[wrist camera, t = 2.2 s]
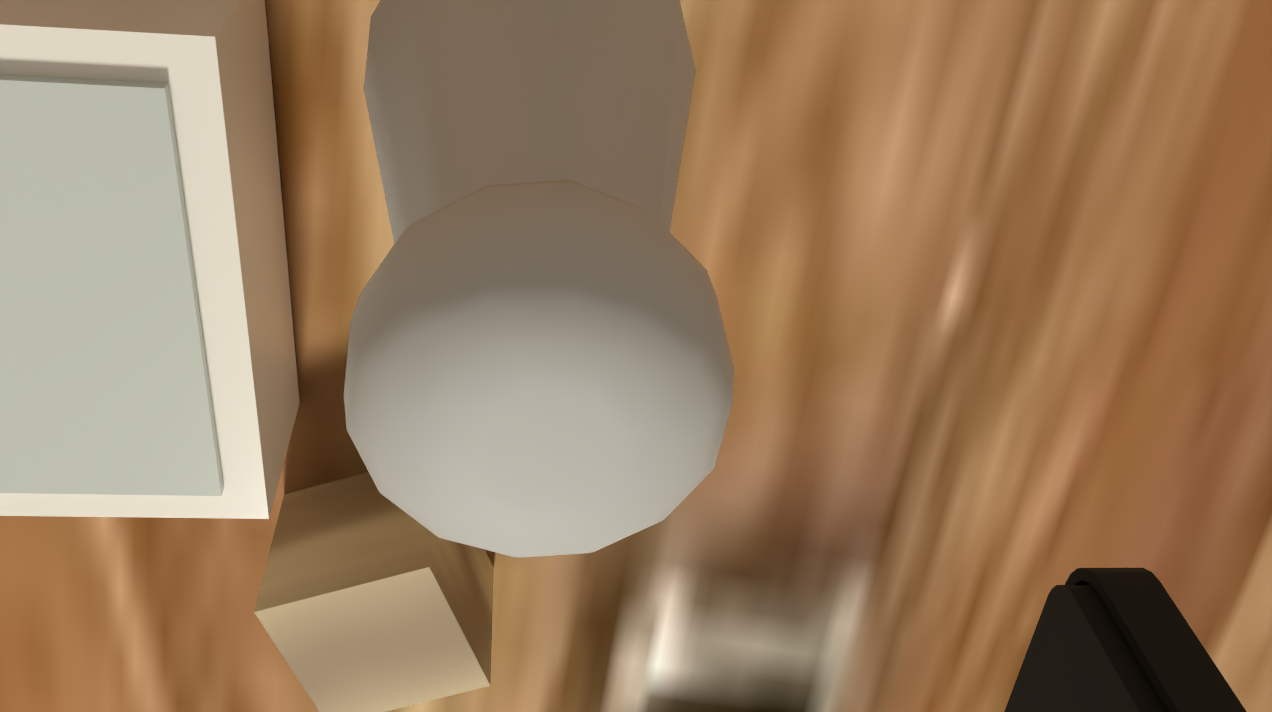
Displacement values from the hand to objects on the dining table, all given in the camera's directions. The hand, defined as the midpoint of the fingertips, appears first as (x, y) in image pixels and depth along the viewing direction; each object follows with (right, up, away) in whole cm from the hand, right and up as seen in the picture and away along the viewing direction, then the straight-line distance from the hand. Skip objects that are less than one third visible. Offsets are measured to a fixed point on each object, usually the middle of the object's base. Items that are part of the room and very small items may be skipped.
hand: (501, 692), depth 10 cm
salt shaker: (-1, +9, +13) cm, 16 cm away
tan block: (-5, -2, +20) cm, 21 cm away
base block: (-11, +6, +14) cm, 19 cm away
